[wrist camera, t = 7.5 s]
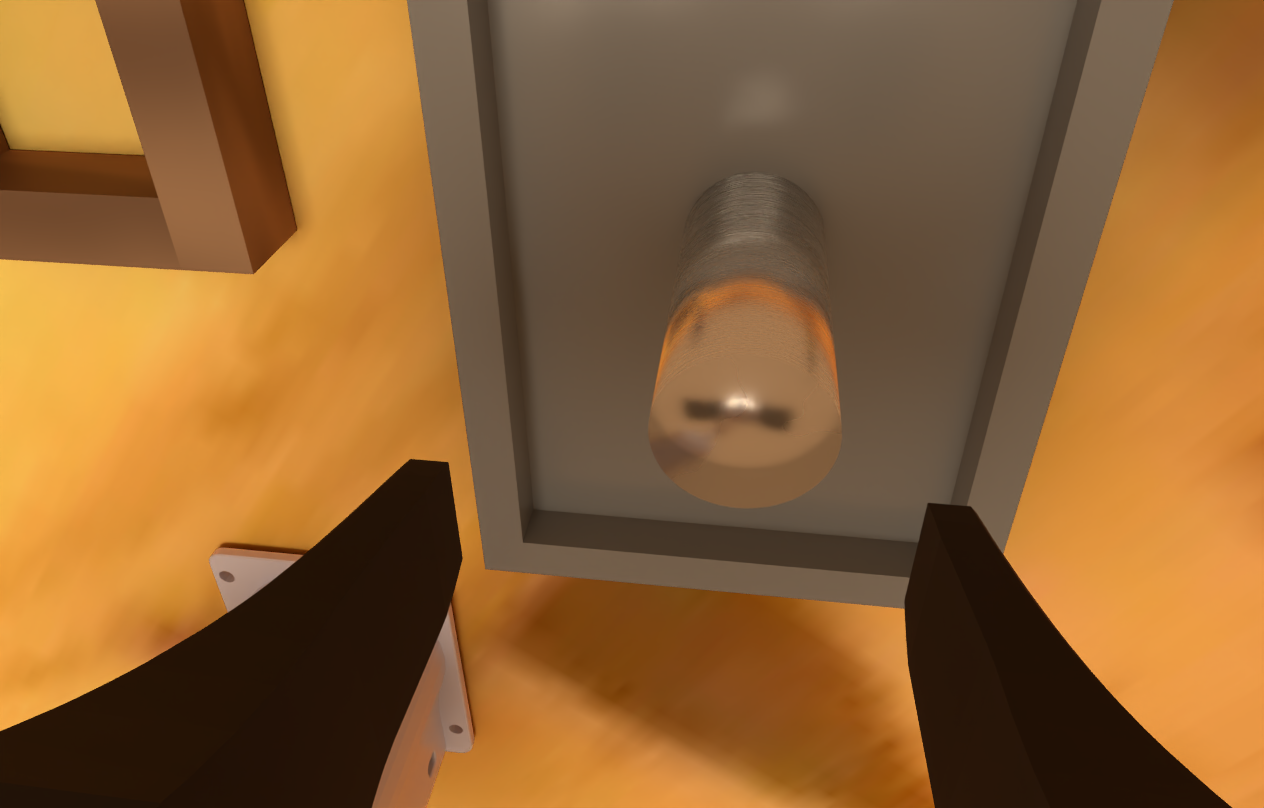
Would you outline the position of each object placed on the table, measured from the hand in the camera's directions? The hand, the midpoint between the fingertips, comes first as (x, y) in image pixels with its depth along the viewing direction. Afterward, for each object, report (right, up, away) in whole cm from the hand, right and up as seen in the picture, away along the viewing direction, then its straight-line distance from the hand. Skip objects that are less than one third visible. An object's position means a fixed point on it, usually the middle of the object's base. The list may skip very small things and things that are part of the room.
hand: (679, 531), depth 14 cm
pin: (+2, +6, +7) cm, 10 cm away
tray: (+2, +6, +8) cm, 10 cm away
